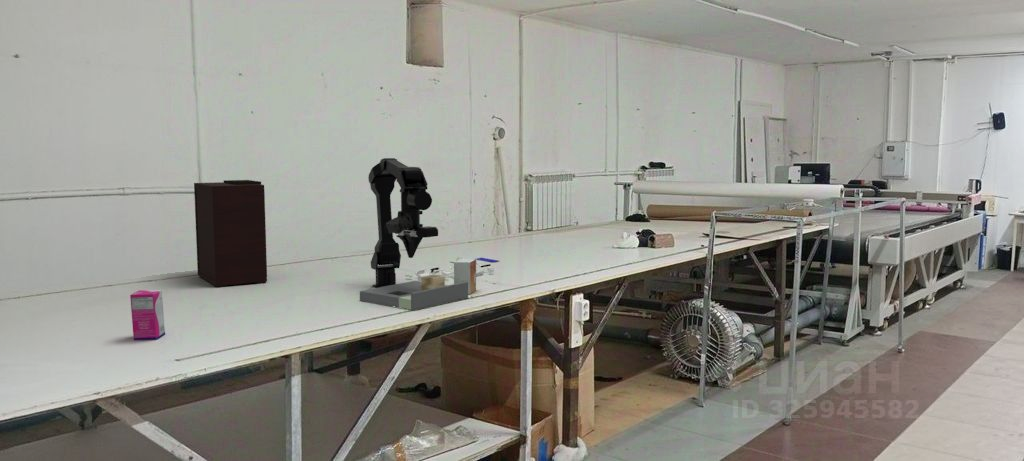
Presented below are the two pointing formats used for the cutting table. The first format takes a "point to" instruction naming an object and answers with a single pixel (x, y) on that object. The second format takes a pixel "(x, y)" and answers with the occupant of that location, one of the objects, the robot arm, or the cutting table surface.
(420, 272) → the miniature set
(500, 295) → the cutting table surface
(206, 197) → the tall dark brown box
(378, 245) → the robot arm
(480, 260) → the booklet
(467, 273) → the small box
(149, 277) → the cutting table surface
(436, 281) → the maple block
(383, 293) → the board
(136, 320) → the supplement box
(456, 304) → the cutting table surface
